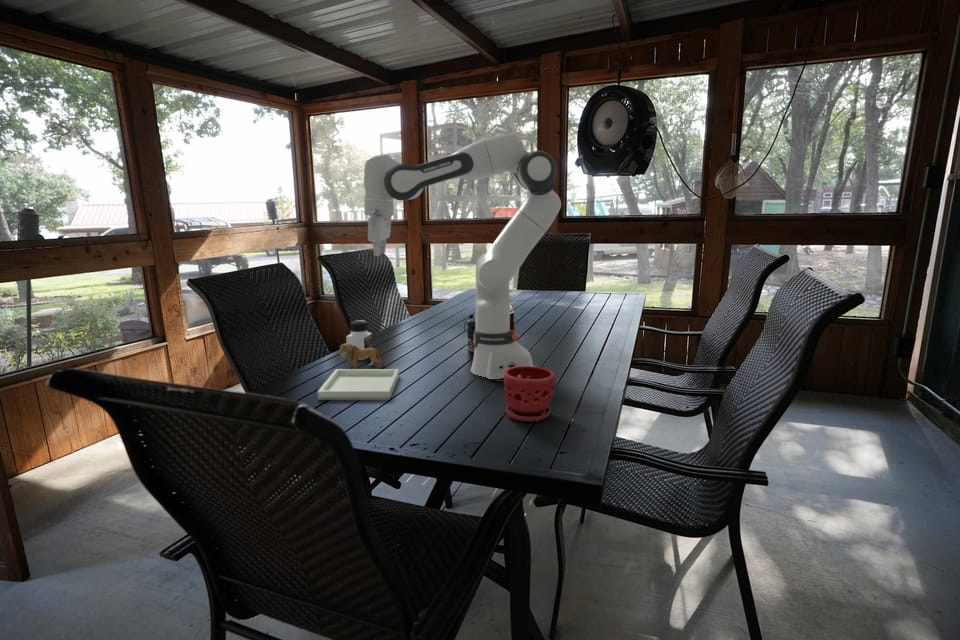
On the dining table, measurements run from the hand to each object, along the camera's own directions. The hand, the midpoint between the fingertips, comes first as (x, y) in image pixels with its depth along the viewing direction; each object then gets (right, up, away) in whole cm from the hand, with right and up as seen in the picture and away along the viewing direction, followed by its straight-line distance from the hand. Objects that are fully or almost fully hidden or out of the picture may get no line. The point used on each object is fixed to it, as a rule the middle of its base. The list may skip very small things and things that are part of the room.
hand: (379, 254), depth 163 cm
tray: (-4, -41, -8) cm, 42 cm away
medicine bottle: (-13, -33, +28) cm, 45 cm away
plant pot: (+44, -46, -27) cm, 69 cm away
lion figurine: (-8, -37, +11) cm, 39 cm away
